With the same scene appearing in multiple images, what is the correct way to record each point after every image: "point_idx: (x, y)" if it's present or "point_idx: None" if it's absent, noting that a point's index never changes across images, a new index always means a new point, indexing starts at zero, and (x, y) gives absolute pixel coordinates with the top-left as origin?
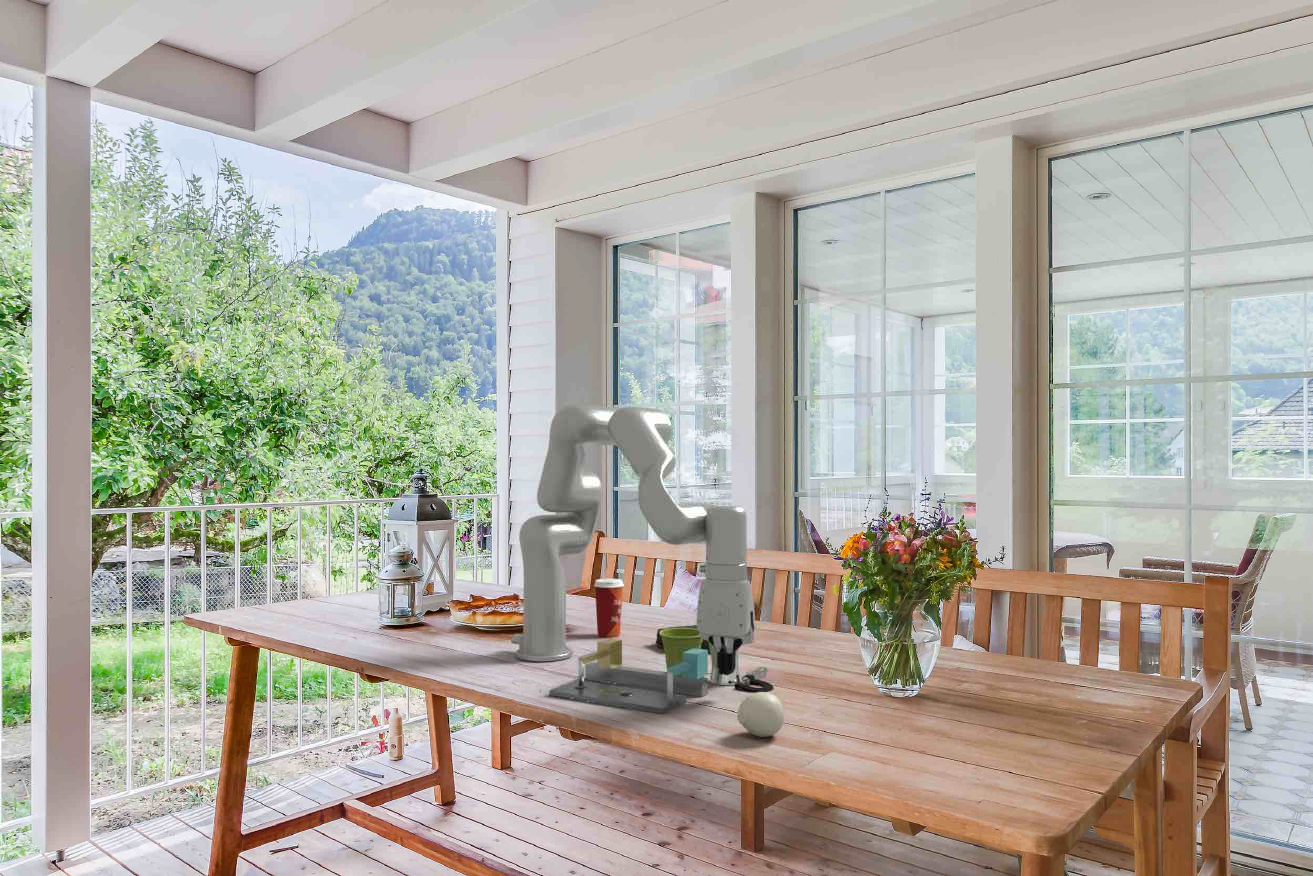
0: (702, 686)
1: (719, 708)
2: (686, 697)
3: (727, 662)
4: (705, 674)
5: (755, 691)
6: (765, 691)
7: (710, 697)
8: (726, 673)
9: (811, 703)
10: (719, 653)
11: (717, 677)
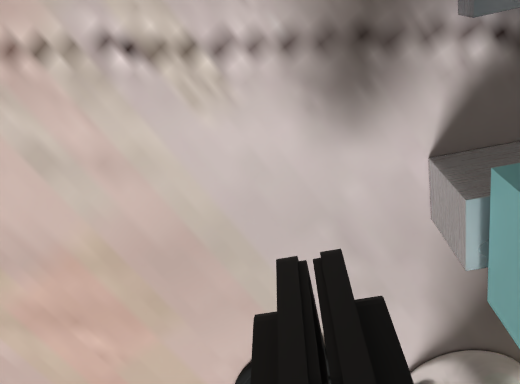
0: (450, 186)
1: (219, 39)
2: (470, 12)
3: (280, 333)
4: (492, 280)
5: None
6: (237, 379)
7: (387, 181)
8: (279, 263)
9: (2, 358)
10: (367, 378)
11: (482, 379)
